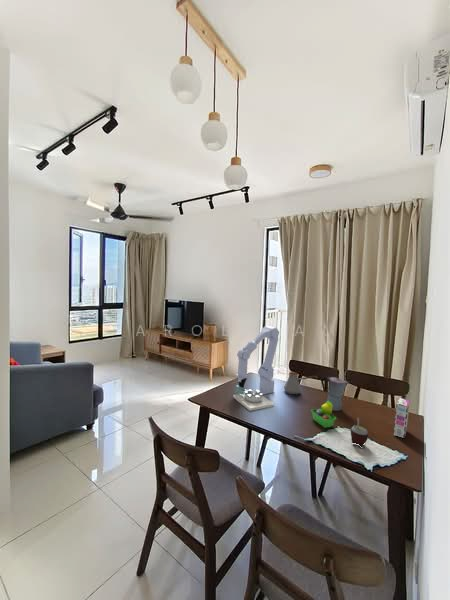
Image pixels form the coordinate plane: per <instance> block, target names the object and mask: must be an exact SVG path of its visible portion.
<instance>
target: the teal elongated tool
mask: <svg viewBox="0 0 450 600" xmlns="http://www.w3.org/2000/svg"><path fill="white" fill-rule="evenodd" d="M235 393H237V394H242V395H244V394H245V395H244V399H245V400H246V401H248V402H252V403H259V402H261V401H262V398H263V397H264V396H263V395H264V394H263V393H261V392H260V391H258V390H257V389H256V390H255V391H254V390H252V389H246V388H245V386H244V387H241V386H239V384H238V385H237V384H236V385H235Z"/></svg>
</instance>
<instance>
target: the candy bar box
mask: <svg viewBox="0 0 450 600" xmlns="http://www.w3.org/2000/svg"><path fill="white" fill-rule="evenodd" d="M410 402H411V401H410V400H409V399H405V398H401V397H398V400H397V402H396V405H395V406H396V407H395V416H394V424H393V436H394V437H396V436H398V437H397V438H399V437H402V438H405V439H406V435H407V430H408V423H409V411H410ZM402 438H401V439H402Z"/></svg>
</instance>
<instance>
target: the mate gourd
mask: <svg viewBox="0 0 450 600" xmlns="http://www.w3.org/2000/svg"><path fill="white" fill-rule="evenodd" d="M356 418H357V419H356V421H357V424H354V425H353V426H351V429H350V436H351V437H350V439H351V443H356V444H359V445H360V446H361V447H363V446H364V445H363V444H364V443H365V444H366V442H367V441H368V438H369V432H368V430H367V428H365V427H364V426H363V425H360V417H359V416H356Z"/></svg>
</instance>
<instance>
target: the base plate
mask: <svg viewBox="0 0 450 600" xmlns="http://www.w3.org/2000/svg"><path fill="white" fill-rule="evenodd" d="M244 395H245V394H244ZM244 395H242V394H239V393H237V394H233V399H234V400H236V401H237V402H238V403H239V404H241V406H243V407H244V408H246V409H247V410H248V411H249V412H251V411H256V410H260V409H266V408H267V409H268V408H272V407H274V406H275V403H274V402H272V401H271V400H269V399H267V398H266V397H265V396H263V398H262V401H261V402H259V403H252V402H248V401H246V400H245V399H244Z"/></svg>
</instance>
